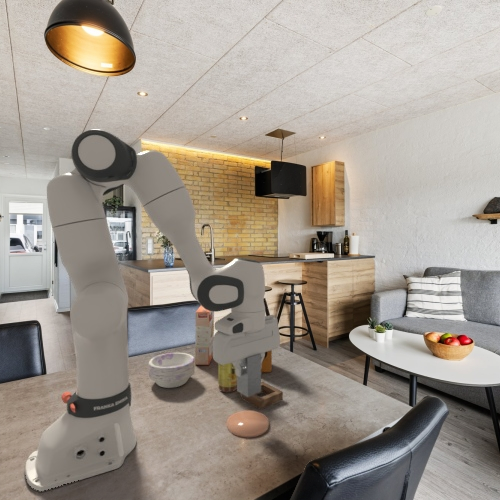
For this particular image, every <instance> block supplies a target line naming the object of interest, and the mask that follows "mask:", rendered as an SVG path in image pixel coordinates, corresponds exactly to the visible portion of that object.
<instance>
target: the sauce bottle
mask: <svg viewBox="0 0 500 500" xmlns="http://www.w3.org/2000/svg"><path fill="white" fill-rule="evenodd" d="M217 384H218V389H219V390H220V391H221V392H223V393H231V392H234V391H237V375H236V373H235V367H234V366H233V364H232V363H229V364H225V365H221V364H219V363H218V383H217Z"/></svg>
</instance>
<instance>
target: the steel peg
mask: <svg viewBox="0 0 500 500" xmlns="http://www.w3.org/2000/svg"><path fill="white" fill-rule="evenodd" d="M239 365H240V367H241V368H243V369H244V375H242V376H237V389H236V391H237V392H238V393H240V394H241V393H242V394H243V395H245V396H247V397H249V396H252V395H254V394H257V393H259V392H261V382H262V373H261V354H256V355H253V356H250V357H246V358H245V359H241V363H240V364H239ZM257 395H258V394H257Z"/></svg>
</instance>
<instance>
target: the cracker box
mask: <svg viewBox="0 0 500 500" xmlns="http://www.w3.org/2000/svg"><path fill="white" fill-rule="evenodd" d="M194 331H195V336H194V337H195V338H194V339H195V342H194V343H195V346H194V347H195V350H194V352H195V353H194V356H195V357H194V359H195V362H194V363H195V364H194V365H195V366H210V363H211V361H212V359H213V339H214V335H215V312H214V311H209V310H207V309H205V308H204V307H202V306H201V305H199V307H198V308H197V310H195V330H194Z"/></svg>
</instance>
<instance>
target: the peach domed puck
mask: <svg viewBox="0 0 500 500" xmlns="http://www.w3.org/2000/svg"><path fill="white" fill-rule="evenodd" d="M269 424H270V423H269V418H268V417H267V416H266V415H265V414H263V413H261V412H260V411H256V410H240V411H237V412H234V413H232V414H231V415H229V417H228V418H227V421H226V428H227V430H228V431H229V432H230V433H231V434H233V435H234V436H237V437H241V438H254V437H255V438H256V437H259V436H261V435H264V434H265V433H266V432H267V431H268V428H269Z"/></svg>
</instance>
